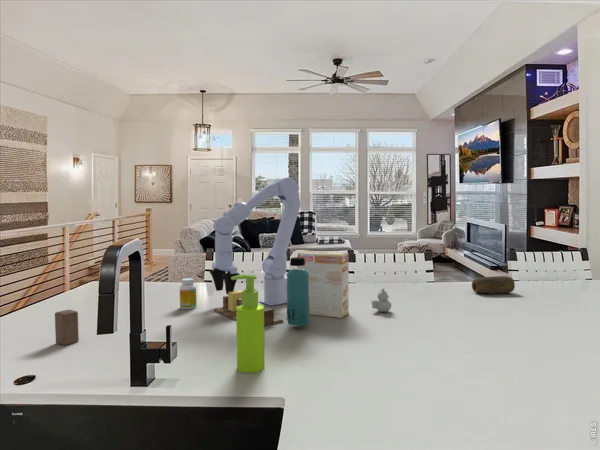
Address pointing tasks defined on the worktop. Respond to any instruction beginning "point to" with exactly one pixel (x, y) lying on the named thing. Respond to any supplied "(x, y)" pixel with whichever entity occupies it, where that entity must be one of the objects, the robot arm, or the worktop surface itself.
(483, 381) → the worktop surface
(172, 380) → the worktop surface
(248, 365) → the soap dispenser
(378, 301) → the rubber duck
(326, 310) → the coffeecake box
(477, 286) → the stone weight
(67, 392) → the worktop surface
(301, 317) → the beverage bottle
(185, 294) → the supplement bottle
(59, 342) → the wooden block
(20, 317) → the worktop surface
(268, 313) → the rail
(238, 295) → the yellow notched block
